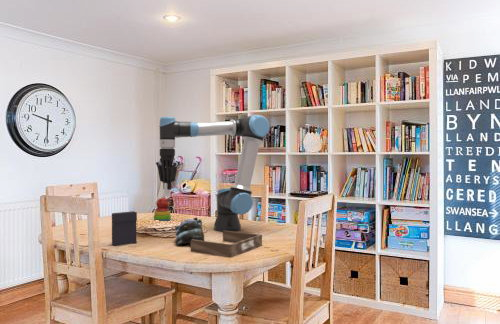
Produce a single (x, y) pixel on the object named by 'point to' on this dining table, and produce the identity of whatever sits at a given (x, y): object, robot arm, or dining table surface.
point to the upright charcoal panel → (124, 228)
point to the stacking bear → (162, 210)
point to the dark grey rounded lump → (189, 231)
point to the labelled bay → (239, 246)
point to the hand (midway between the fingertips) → (167, 196)
